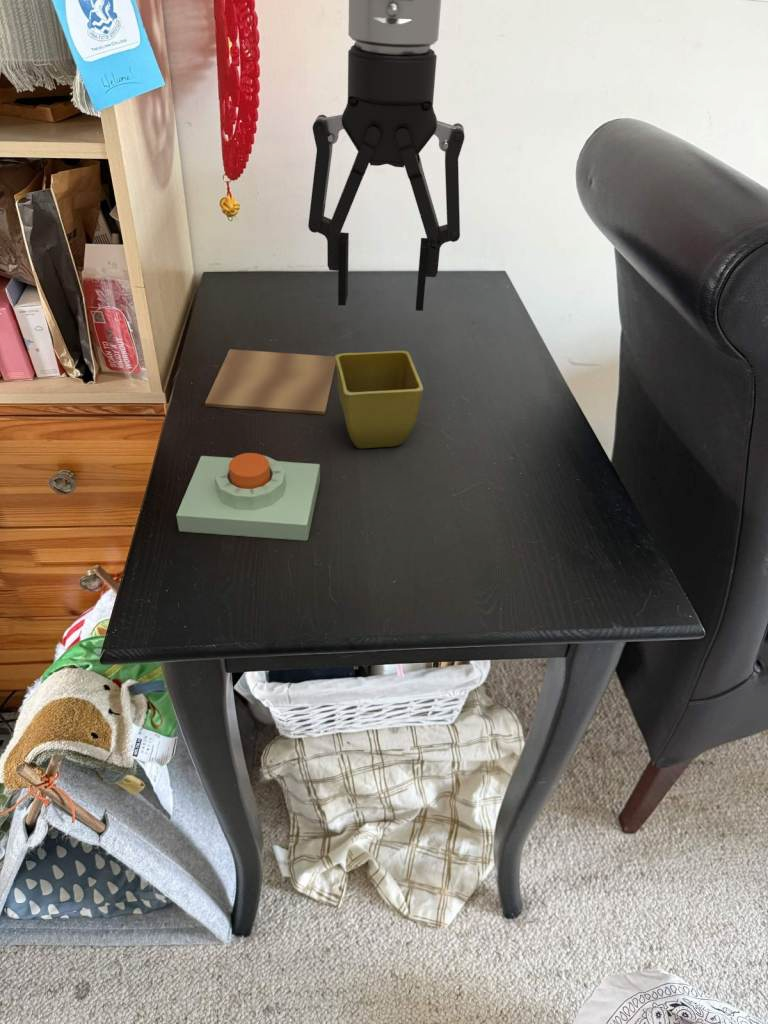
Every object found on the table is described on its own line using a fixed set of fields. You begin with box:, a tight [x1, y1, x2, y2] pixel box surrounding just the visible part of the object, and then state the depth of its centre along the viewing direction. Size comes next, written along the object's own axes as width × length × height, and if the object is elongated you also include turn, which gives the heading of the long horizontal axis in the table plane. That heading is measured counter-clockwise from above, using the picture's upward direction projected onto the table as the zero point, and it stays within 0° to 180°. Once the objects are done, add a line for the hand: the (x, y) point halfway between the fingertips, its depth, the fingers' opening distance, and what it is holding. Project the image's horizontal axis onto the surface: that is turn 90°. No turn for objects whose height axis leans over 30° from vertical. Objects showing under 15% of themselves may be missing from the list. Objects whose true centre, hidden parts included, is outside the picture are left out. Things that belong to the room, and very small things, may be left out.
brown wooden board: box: [204, 348, 336, 415], centre depth 96 cm, size 15×14×1 cm
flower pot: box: [334, 350, 424, 449], centre depth 84 cm, size 9×9×9 cm
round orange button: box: [229, 452, 270, 489], centre depth 74 cm, size 4×4×2 cm
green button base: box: [175, 454, 321, 542], centre depth 76 cm, size 13×10×4 cm
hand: (381, 302), depth 76 cm, fingers open, 7 cm apart
